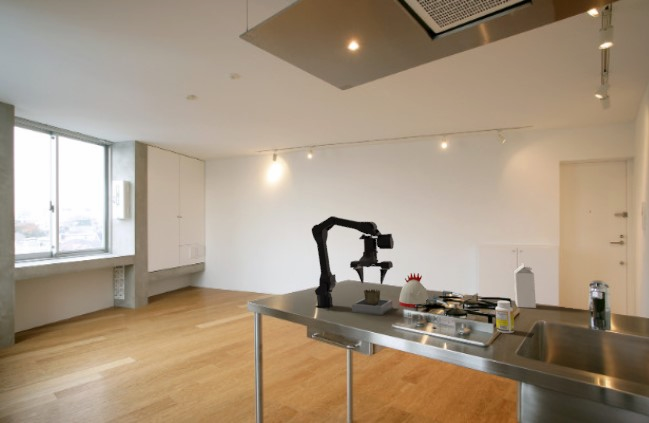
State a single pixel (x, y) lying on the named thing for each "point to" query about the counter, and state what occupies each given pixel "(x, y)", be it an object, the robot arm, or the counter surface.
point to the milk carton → (524, 287)
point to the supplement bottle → (504, 317)
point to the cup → (372, 297)
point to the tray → (372, 307)
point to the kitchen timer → (413, 292)
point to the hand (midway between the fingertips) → (371, 283)
